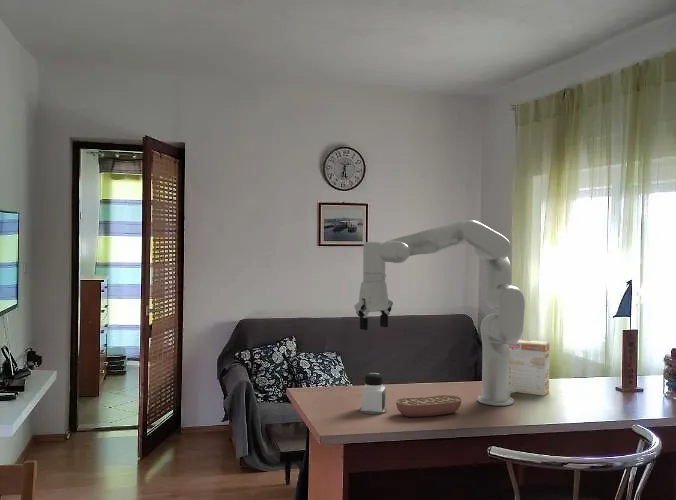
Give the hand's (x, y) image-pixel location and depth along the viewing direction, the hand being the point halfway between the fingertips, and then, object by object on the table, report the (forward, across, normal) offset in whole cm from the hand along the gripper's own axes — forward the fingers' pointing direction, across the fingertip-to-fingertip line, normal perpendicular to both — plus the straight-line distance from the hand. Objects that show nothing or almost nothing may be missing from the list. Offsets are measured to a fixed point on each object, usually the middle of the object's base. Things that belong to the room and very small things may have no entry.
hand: (374, 328), depth 222 cm
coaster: (+28, 0, 0) cm, 28 cm away
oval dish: (+29, -11, +16) cm, 34 cm away
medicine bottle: (+28, 0, 0) cm, 28 cm away
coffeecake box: (+29, -64, +19) cm, 72 cm away
